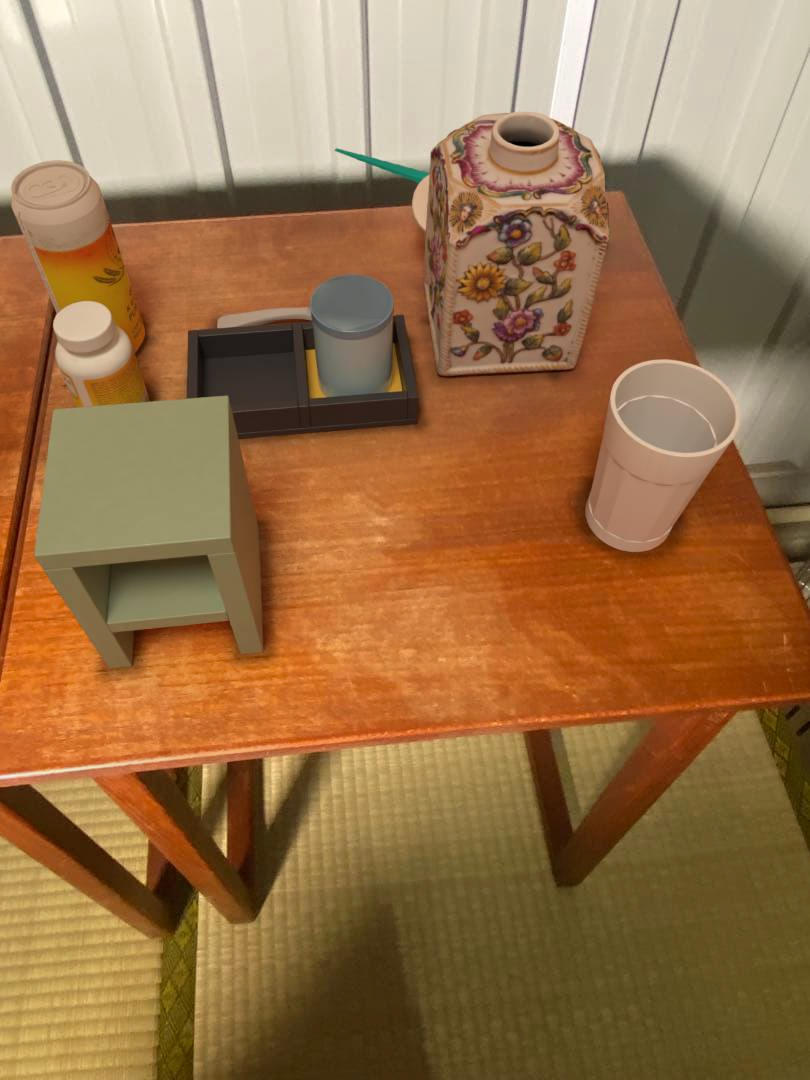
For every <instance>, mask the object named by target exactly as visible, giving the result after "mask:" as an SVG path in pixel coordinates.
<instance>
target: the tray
mask: <svg viewBox="0 0 810 1080" xmlns="http://www.w3.org/2000/svg"><path fill="white" fill-rule="evenodd" d="M186 358H187V361H186V363H187V364H186V366H187V367H186V369H187V370H186V399H190V398H202V397H215V396H228V397H229V401H230V405H231V409H232V414H233V418H234V422H235V427H236V431H237V435H238V440H240V439H241V440H242V439H251V438H263V437H264V438H265V437H276V436H287V435H301V434H308V433H309V434H311V433H312V434H313V433H323V432H324V433H325V432H335V431H347V430H359V429H371V428H384V427H393V426H394V427H395V426H405V425H417V424H418V416H419V414H418V413H419V392H418V387H417V380H416V376H415V370H414V369H415V368H414V365H413V360H412V359H413V358H412V354H411V347H410V342H409V336H408V330H407V324H406V319H405V315H404V314H393V374H392V385H391V388H390V390H389V391H388V392H385V393H372V394H360V395H348V396H335V397H325V396H324V394H323V393H322V392H321V390H320V388H319V385H318V377H317V367H316V357H315V347H314V336H313V326H312V321H300V322H299V321H298V322H284V323H283V322H282V323H268V324H262V325H255V326H242V327H228V328H203V329H189V330H188V331H187V357H186Z"/></svg>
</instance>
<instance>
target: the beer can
mask: <svg viewBox="0 0 810 1080" xmlns="http://www.w3.org/2000/svg"><path fill="white" fill-rule="evenodd" d="M10 186H11V188H10V190H11V202H10V206H11V210H12V212H13V214H14V216H15V219H16V221H17V223H18V226H19V228H20V230H21V233H22V236H23V238H24V240H25V242H26V245H27V247H28V249H29V252H30V254H31V256H32V259H33V261H34V264H35V266H36V269H37V271H38V273H39V275H40V278H41V280H42V282H43V284H44V287H45V289H46V292H47V294H48V296H49V300H50V301H51V303H52V305H53V308H54V310H55V312H56V315H57V314H58V313H59V312H60V311H61V310H62V309H63V308H65V307H66V306H69V305H71V304H73V303H77V302H82V301H93V302H97V303H100V304H102V305H104V306H105V307H107V308H108V310H109V311H110V313H111V315H112V317H113V320H114V322H115V325H116V326H118V327H119V328H121V329H122V330H123V331H124V332H125V333H126V334H127V336H128V337H129V339H130V341H131V344H132V347H133V350H134V353H135V354H136V353H137V351H138V350H139V348H140V347H141V345H142V343H143V342H144V339H145V336H146V329H145V325H144V322H143V318H142V316H141V312H140V310H139V306H138V303H137V300H136V297H135V295H134V294H135V293H134V291H133V288H132V285H131V281H130V278H129V276H128V272H127V269H126V265H125V262H124V260H123V256H122V253H121V250H120V247H119V244H118V240H117V238H116V234H115V231H114V228H113V225H112V222H111V219H110V215H109V212H108V209H107V207H106V203H105V200H104V196H103V194H102V190H101V187H100V185H99V184H98V182H97V181H96V180H95V179H94V178H93V177H92V176H91V175H90V173H89V171H88V170H87V169H86V168H85V167H84V166H82V165H81V164H78V163H76V162H73V161H69V160H63V159H62V160H59V159H58V160H46V161H42V162H39V163H36V164H32V165H30V166H28V167H26V168H24V169H23V170H21V171H20V172H19V173H18V174H17V175H16V176H15V177H14V179H12V183H11V185H10Z"/></svg>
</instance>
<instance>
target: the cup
mask: <svg viewBox="0 0 810 1080" xmlns="http://www.w3.org/2000/svg"><path fill="white" fill-rule="evenodd" d="M740 425H741V409H740V405H739V402H738V400H737V398H736V397H735V395H734V393H733V392H732V390H731V389H730V388H729V386H728V385H727V384H726V383H725V382H723V380H721V378H719V377H718V376H716V375H715V374H713V372H712V373H711V372H710V371H708V370H707V369H705V368H702V367H700V366H698V365H696V364H694V363H689V362H686V361H681V360H677V359H665V358H664V359H663V358H662V359H660V358H659V359H652V360H646V361H642V362H639V363H636V364H633V365H632V366H630V367H629V368H627V369H625V370H624V371H622V373H621V374H620V375H619V376H618V377H617V378H616V379H615V381H614V383H613V385H612V387H611V391H610V395H609V401H608V405H607V410H606V416H605V421H604V426H603V435H602V440H601V443H600V448H599V454H598V457H597V462H596V466H595V471H594V476H593V479H592V480H593V481H592V485H591V489H590V492H589V495H588V498H587V500H586V504H585V513H584V515H585V519H586V522H587V524H588V527H589V529H590V530H591V531H592V533H593V534H594V535H595V537H597V538H598V539H599V540H600V541H601V542H603V543H604V544H606V545H608V546H610V547H611V548H614V549H616V550H619V551H623V552H628V553H640V552H641V553H642V552H647V551H650V550H652V549H655V548H657V547H659V546H660V545H661V544H663V543H664V542H665V541H666V539H667V538H668V536H669V535H670V533H671V530H672V529H673V527H674V525H675V524H676V522H677V521H678V519H679V518H680V516H681V515H682V513H683V512H684V510H685V509H686V507H687V506H688V504H689V503H690V502H691V500H692V499H693V497H694V496H695V495H696V493H697V491H698V490H699V489H700V487H701V485H702V484H703V483H704V482H705V480H706V478H707V477H708V476H709V474H710V472H711V471H712V469H713V468H714V467H715V465H716V464H717V463H718V461H719V460H720V458H721V457H722V455H723V454H724V453H725V452H726V450H727V448H728V447H729V446H730V445H731V443H732V442H733V440H734V438H735V437H736V436H737V434H738V432H739V429H740Z"/></svg>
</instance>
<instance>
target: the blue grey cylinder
mask: <svg viewBox="0 0 810 1080" xmlns="http://www.w3.org/2000/svg"><path fill="white" fill-rule="evenodd" d="M309 307H310V313H311V317H312V326H313V336H314V347H315V357H316V367H317V377H318V385H319V388H320V390H321V392H322V393H323V394H324V396H325V397H335V396H348V395H360V394H372V393H385V392H388V391H389V390H390V388H391V385H392V374H393V316H394V311H395V302H394V296H393V294H392V292H391V291H390V289H389V288H388V287H387V286H386V285H385V284H384V283H383V282H382V281H380V280H378V279H376V278H374V277H371V276H367V275H363V274H354V273H353V274H352V273H351V274H341V275H337V276H334V277H331V278H328V279H327V280H325V281H323V282H322V283H320V284H319V285H318V286H316V288H315V289H314V290H313V292H312V294H311V296H310V299H309Z"/></svg>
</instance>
